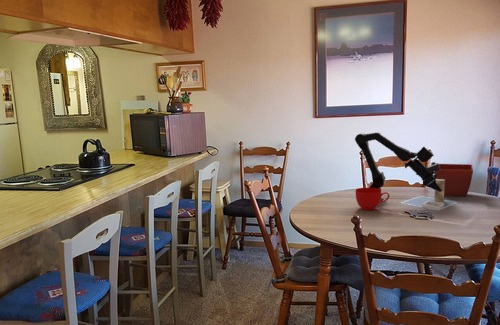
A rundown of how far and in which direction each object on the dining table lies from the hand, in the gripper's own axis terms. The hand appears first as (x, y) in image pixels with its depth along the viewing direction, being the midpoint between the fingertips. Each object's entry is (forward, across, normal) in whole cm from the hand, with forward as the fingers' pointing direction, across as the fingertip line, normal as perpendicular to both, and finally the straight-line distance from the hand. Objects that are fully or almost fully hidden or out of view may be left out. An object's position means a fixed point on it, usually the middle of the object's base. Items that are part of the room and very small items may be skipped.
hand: (441, 189), depth 207 cm
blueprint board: (+2, -3, +10) cm, 10 cm away
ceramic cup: (-17, -20, +29) cm, 39 cm away
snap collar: (+2, -10, +8) cm, 13 cm away
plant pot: (+10, +22, +2) cm, 25 cm away
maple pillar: (+4, 0, +6) cm, 7 cm away
